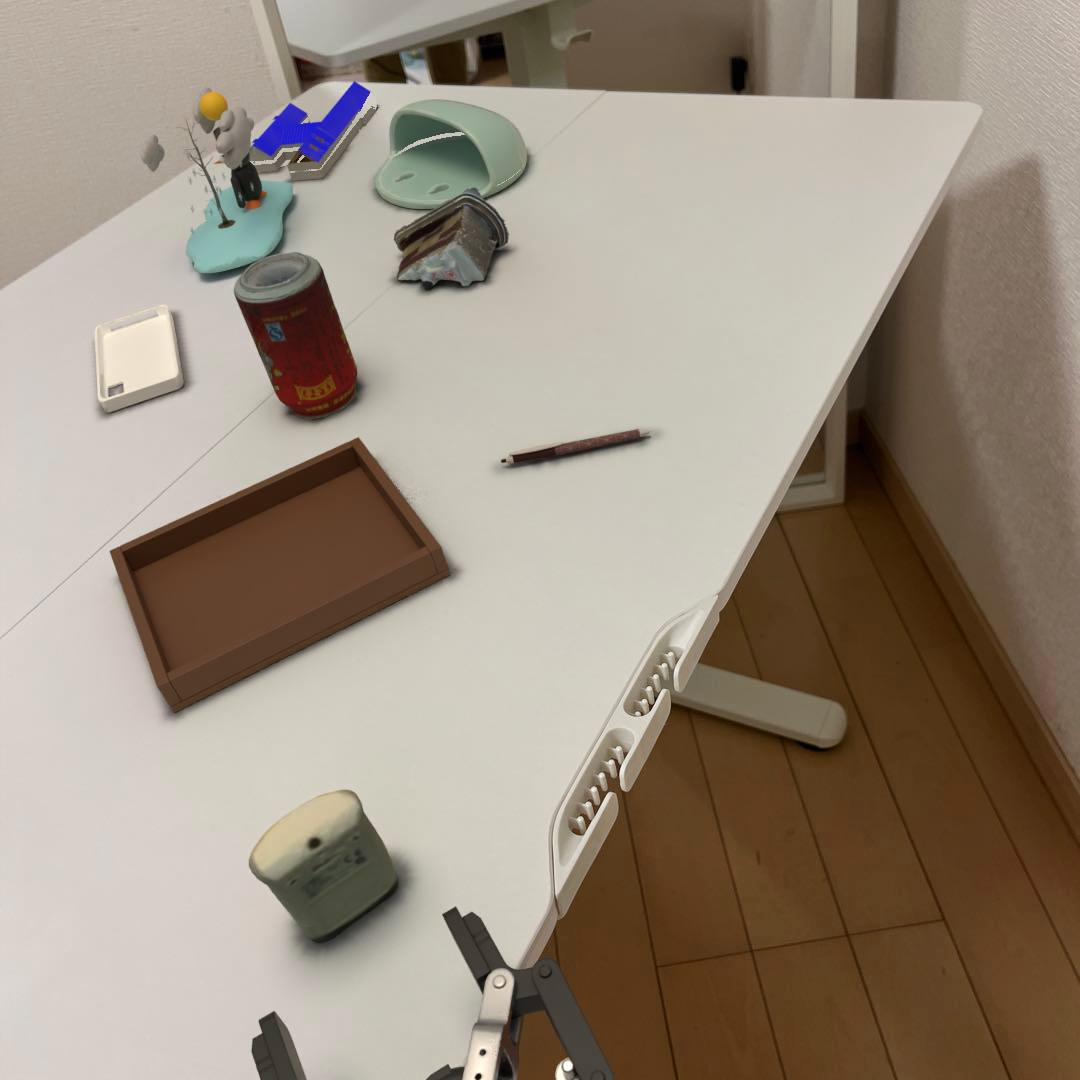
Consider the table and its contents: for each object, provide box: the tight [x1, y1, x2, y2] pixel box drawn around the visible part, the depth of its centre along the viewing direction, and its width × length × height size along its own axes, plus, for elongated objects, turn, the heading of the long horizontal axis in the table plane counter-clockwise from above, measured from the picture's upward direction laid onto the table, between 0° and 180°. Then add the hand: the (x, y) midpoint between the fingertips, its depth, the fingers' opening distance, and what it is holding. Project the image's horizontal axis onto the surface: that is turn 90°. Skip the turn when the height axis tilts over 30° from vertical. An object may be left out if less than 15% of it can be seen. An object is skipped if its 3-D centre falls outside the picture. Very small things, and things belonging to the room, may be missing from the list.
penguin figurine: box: [140, 86, 294, 274], centre depth 115 cm, size 20×11×15 cm, turn 179°
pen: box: [500, 428, 652, 465], centre depth 81 cm, size 11×1×1 cm, turn 96°
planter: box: [373, 98, 528, 210], centre depth 120 cm, size 19×7×16 cm
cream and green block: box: [248, 789, 399, 943], centre depth 54 cm, size 6×5×8 cm
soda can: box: [233, 251, 358, 420], centre depth 89 cm, size 7×7×12 cm
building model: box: [249, 80, 378, 182], centre depth 135 cm, size 20×11×4 cm, turn 168°
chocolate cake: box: [393, 188, 510, 290], centre depth 104 cm, size 10×7×12 cm
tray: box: [109, 436, 451, 714], centre depth 76 cm, size 20×16×3 cm
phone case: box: [93, 303, 185, 413], centre depth 103 cm, size 7×1×15 cm
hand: (364, 969), depth 48 cm, fingers open, 8 cm apart
